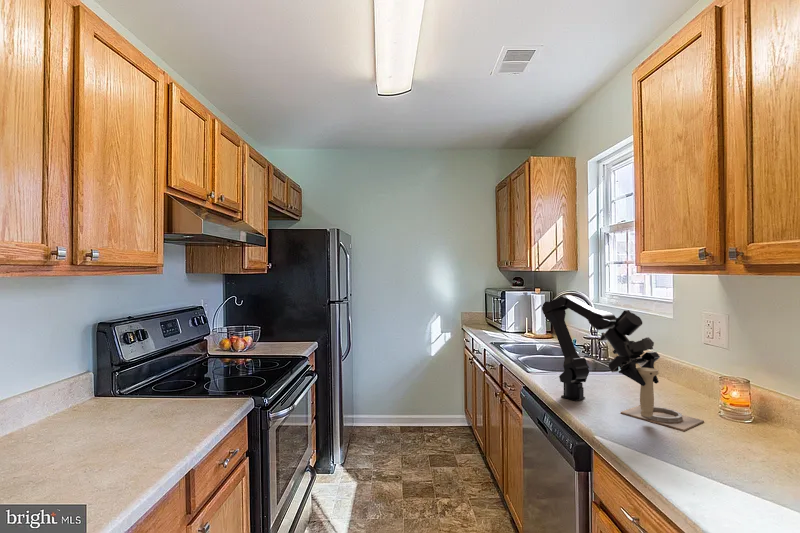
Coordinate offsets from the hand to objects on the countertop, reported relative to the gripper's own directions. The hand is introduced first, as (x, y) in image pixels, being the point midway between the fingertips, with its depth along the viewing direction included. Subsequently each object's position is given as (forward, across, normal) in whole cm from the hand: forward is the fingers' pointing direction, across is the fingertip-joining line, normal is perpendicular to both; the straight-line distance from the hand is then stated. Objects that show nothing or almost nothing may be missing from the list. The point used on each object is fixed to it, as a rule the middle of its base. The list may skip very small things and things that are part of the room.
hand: (651, 384), depth 140 cm
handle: (+7, 0, +9) cm, 11 cm away
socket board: (+7, +10, +12) cm, 17 cm away
